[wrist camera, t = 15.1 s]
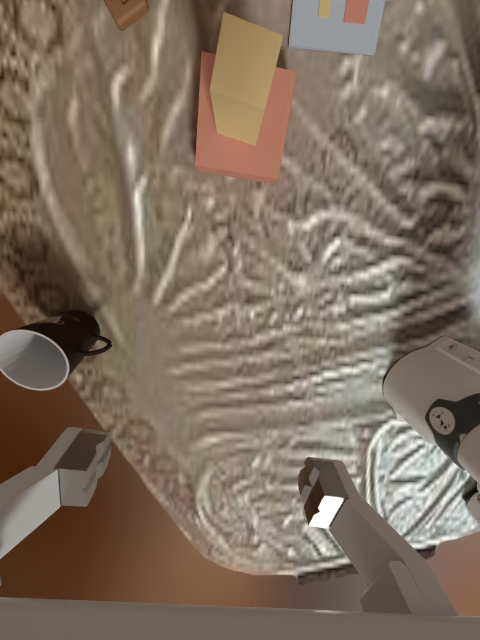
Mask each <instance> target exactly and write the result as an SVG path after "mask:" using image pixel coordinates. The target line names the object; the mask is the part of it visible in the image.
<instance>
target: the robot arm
mask: <svg viewBox="0 0 480 640" xmlns="http://www.w3.org/2000/svg"><path fill="white" fill-rule="evenodd" d="M383 392H384V396H385V399H386V400H387V402H388V403H389V404H390V405H391V406H392V408H393V413H394V416H395V418H397V419H398V420H399V421H402V422H404V421H406V422H407V423H408V424H409V425H410V426H411V427H412V428H413V429H414V430H415V431H416V432H417V433H419V434H420V435H421V436H422V437H423V438H424V439H425V440H426V441H427V442H428V443H430V444H431V445H436V446H439V447H440V449H441V450H442V451H443V452H444V454H445V455H446V456H447V457H448V458H449V459H450V460H452V461H453V462H454V463H455V464H456V465H457V466H459V467H460V468H462V469H464V470H466V471H467V472H468V473H469V474H470V475H471V476H472V477H473V478H474V479H475V480H476V481H477V482H478V483H479V484H480V351H477V350H475V349H473V348H471V347H469V346H467V345H465V344H462V343H460V342H458V341H456V340H454V339H452V338H449V337H446V336H444V337H441V338H439V339H438V340H436V341H435V342H433V343H432V344H430V345H429V346H427V347H425V348H422V349H419V350H416V351H414V352H411V353H409V354H408V355H406V356H404V357H403V358H402V359H400V360H399V361H398V362H397V363H396V364H395V365H394V366H393V367H392V368H391V370H390V371H389V372H388V374H387V376H386V378H385V381H384V386H383ZM110 441H111V433H108V432H102V431H95V430H89V429H81V428H73V427H69V428H67V429H66V430H65V431H64V432H63V433H62V435H61V436H60V437H59V438H58V440H57V441H56V442H55V444H54V445H53V446H52V447H51V449H50V450H49V451H48V452H47V453H46V455H45V456H44V457H43V458H42V460H41V461H40V462H39V464H38V465H37V466H36V467H29V468H28V469H26V470H24V471H23V472H21V473H19V474H18V475H16V476H14V477H12V478H11V479H9V480H7V481H5V482H4V483H2V484H0V559H1V558H2V557H3V556H4V555H5V554H6V553H8V552H9V551H10V550H11V549H12V548H13V547H15V546H16V545H17V544H18V543H19V542H20V541H21V540H22V539H24V538H25V537H26V536H27V535H28V534H30V533H31V532H32V531H33V530H34V529H35V528H36V527H38V526H39V525H40V524H41V523H42V522H43V521H44V520H46V519H47V518H48V517H49V516H50V515H51V514H53V513H54V512H55V511H56V510H57V509H58V508H60V505H68V506H69V505H70V506H87V505H88V503H89V501H90V499H91V497H92V495H93V493H94V491H95V489H96V487H97V479H98V478H99V477H100V476H102V475H103V473H104V471H105V469H106V467H107V464H108V461H109V458H110V454H111V447H110V446H109V443H110ZM304 464H305V468H303V469H301V471H300V473H299V477H298V486H299V492H300V495H301V496H302V498H303V499H304V500H305V504H304V510H305V514H306V518H307V521H308V525H309V526H315V527H323V528H329V531H330V532H331V534H332V535H333V536H334V538H335V539H336V541H337V542H338V544H339V545H340V546H341V548H342V549H343V551H344V552H345V554H346V555H347V557H348V558H349V559H350V561H351V562H352V564H353V565H354V567H355V568H356V569H357V571H358V572H359V574H360V575H361V576H362V578H363V579H364V581H365V582H366V584H367V585H368V588H367V590H366V591H365V592H364V593H363V594H362V596H361V598H360V603H361V606H362V608H363V612H354V611H328V610H304V609H279V608H254V607H229V606H204V605H203V606H202V605H180V604H154V603H130V602H104V601H79V600H54V599H28V598H3V597H2V598H1V597H0V640H480V617H477V616H459V615H458V613H457V611H456V610H455V608H454V606H453V605H452V603H451V601H450V600H449V598H448V596H447V595H446V593H445V591H444V589H443V588H442V586H441V584H440V583H439V581H438V579H437V578H436V576H435V574H434V572H433V571H432V569H431V567H430V566H429V564H428V562H427V561H426V560H425V559H424V558H423V557H422V556H421V555H420V554H419V553H418V552H417V551H416V550H415V549H414V548H413V547H412V546H411V545H410V544H409V543H408V542H407V541H406V540H404V539H403V538H402V537H401V536H400V535H399V534H398V533H397V532H396V531H395V530H394V529H393V528H392V527H391V526H390V525H389V524H388V523H387V522H386V521H385V520H384V519H383V518H382V517H381V516H380V515H379V514H378V513H377V512H376V511H375V510H374V509H373V508H372V507H371V506H370V505H369V504H368V503H367V502H366V501H362V499H361V497H360V495H359V493H358V491H357V489H356V487H355V485H354V483H353V481H352V479H351V477H350V475H349V473H348V471H347V469H346V467H345V465H344V463H343V462H342V461H338V460H329V459H323V458H313V457H308V458H306V460H305V462H304ZM0 585H1V578H0Z"/></svg>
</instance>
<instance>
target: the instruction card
mask: <svg viewBox="0 0 480 640" xmlns="http://www.w3.org/2000/svg"><path fill="white" fill-rule="evenodd" d="M384 3H385V0H293V1H292V12H291V23H290V34H289V45H288V47H289V48H300V49H310V50H320V51H331V52H341V53H351V54H362V55H372V56H373V55H374V54H375V50H376V45H377V40H378V34H379V29H380V24H381V19H382V14H383V8H384Z"/></svg>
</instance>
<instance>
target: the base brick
mask: <svg viewBox="0 0 480 640" xmlns="http://www.w3.org/2000/svg"><path fill="white" fill-rule="evenodd" d="M215 57H216V54H212V53H208V52H203V51H202V55H201V72H200V90H199V107H198V124H197V141H196V158H195V166H196V168H197V169H198V171H199V172H205V173H211V174H217V175H223V176H229V177H235V178H241V179H247V180H253V181H259V182H265V183H271V184H274V183H275V182H276V181H277V180H278V178H279V172H280V167H281V161H282V155H283V149H284V143H285V137H286V132H287V126H288V120H289V114H290V108H291V102H292V97H293V91H294V85H295V79H296V73H297V71H292V70H287V69H283V68H278V67H276V68H275V72H274V76H273V80H272V84H271V88H270V92H269V96H268V100H267V104H266V108H265V112H264V116H263V120H262V123H261V127H260V131H259V135H258V139H257V142H256V146H253V145H250V144H248V143H245V142H242V141H239V140H236V139H233V138H230V137H227V136H224V135H221V134H218V133H217V129H216V123H215V118H214V112H213V106H212V101H211V95H210V85H211V80H212V74H213V68H214V63H215Z"/></svg>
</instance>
